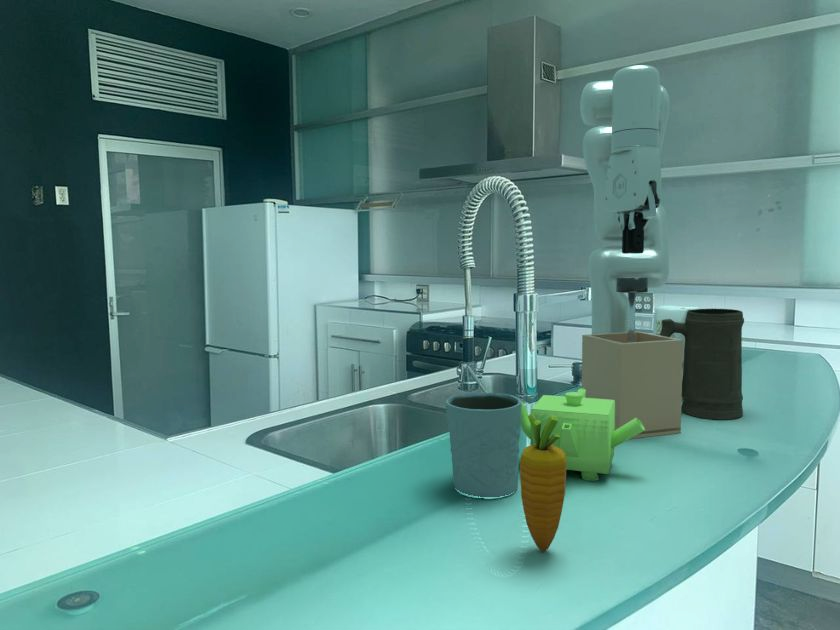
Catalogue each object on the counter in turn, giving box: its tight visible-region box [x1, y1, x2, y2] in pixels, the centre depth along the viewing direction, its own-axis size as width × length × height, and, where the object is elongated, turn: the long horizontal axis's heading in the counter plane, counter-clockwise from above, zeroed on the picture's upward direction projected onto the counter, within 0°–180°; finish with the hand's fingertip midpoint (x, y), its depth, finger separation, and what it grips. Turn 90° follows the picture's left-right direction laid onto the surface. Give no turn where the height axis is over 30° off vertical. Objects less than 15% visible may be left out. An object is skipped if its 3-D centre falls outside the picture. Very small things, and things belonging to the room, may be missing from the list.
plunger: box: [616, 277, 649, 343], centre depth 111 cm, size 9×9×15 cm
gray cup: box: [445, 392, 523, 497], centre depth 86 cm, size 10×10×12 cm
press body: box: [581, 330, 683, 440], centre depth 114 cm, size 14×12×16 cm
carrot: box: [519, 413, 567, 552], centre depth 67 cm, size 5×5×15 cm
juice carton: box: [652, 304, 701, 401], centre depth 135 cm, size 8×9×19 cm
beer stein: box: [660, 308, 745, 421], centre depth 121 cm, size 15×11×20 cm
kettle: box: [520, 388, 645, 481], centre depth 92 cm, size 15×14×11 cm
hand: (632, 253), depth 110 cm, fingers closed
